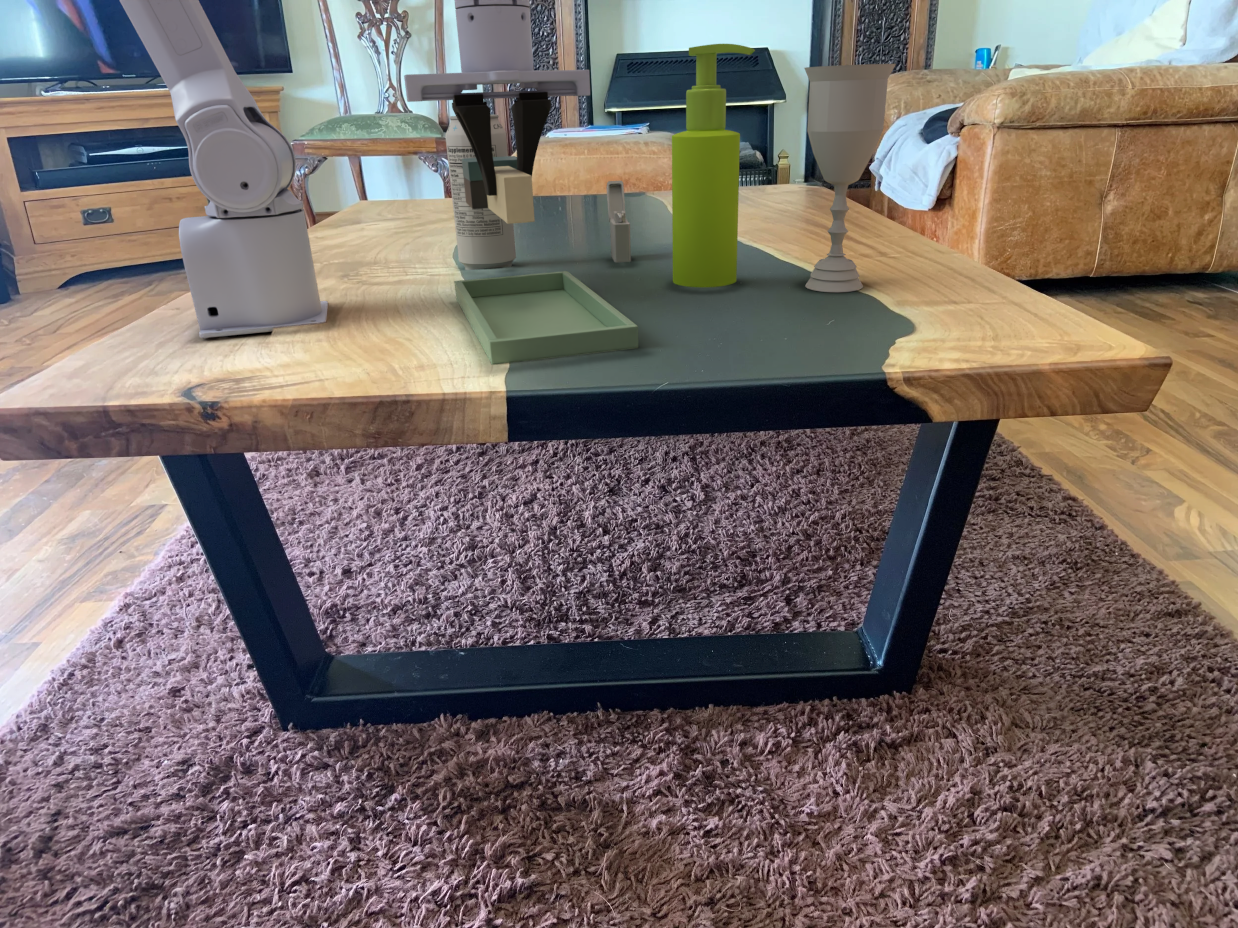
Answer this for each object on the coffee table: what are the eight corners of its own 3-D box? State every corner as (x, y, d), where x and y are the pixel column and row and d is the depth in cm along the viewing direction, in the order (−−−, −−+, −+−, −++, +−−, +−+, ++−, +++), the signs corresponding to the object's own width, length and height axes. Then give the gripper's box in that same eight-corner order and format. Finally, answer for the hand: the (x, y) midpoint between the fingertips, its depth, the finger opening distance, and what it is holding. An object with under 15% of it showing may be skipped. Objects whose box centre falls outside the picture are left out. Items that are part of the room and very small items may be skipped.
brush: (552, 220, 66) (548, 167, 65) (489, 225, 65) (484, 171, 63) (518, 200, 80) (514, 156, 79) (466, 203, 79) (461, 158, 77)
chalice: (868, 278, 78) (887, 65, 71) (882, 294, 72) (904, 63, 64) (789, 278, 79) (800, 68, 71) (796, 295, 73) (808, 66, 65)
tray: (639, 354, 58) (638, 326, 57) (492, 371, 55) (489, 342, 54) (568, 292, 76) (567, 270, 75) (456, 303, 74) (454, 281, 73)
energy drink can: (526, 263, 90) (515, 114, 84) (500, 274, 85) (486, 116, 79) (477, 262, 92) (462, 115, 86) (449, 272, 87) (431, 117, 81)
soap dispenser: (745, 292, 74) (752, 41, 66) (668, 292, 75) (666, 45, 67) (749, 279, 79) (756, 44, 71) (677, 278, 80) (676, 48, 72)
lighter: (631, 266, 87) (629, 186, 84) (614, 267, 87) (612, 186, 84) (624, 254, 94) (621, 179, 90) (608, 255, 93) (606, 180, 90)
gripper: (398, 5, 59) (423, 204, 64) (596, 3, 62) (603, 192, 68) (394, 14, 65) (417, 195, 71) (575, 12, 69) (583, 185, 74)
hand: (507, 193), depth 70 cm, fingers closed on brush, 2 cm apart
